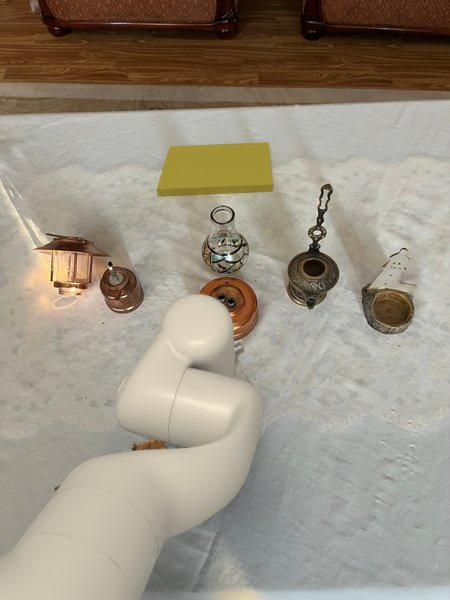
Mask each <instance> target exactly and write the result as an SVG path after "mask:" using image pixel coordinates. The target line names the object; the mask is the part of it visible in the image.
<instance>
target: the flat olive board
mask: <svg viewBox="0 0 450 600" xmlns="http://www.w3.org/2000/svg"><path fill="white" fill-rule="evenodd" d="M272 173H273V172H272V162H271V151H270V142H269V141H266V142H265V141H263V142H261V141H260V142H240V143H238V142H237V143H236V142H235V143H218V144H217V143H216V144H215V143H213V144H193V145H191V144H190V145H171V146H170V145H169V147H168V151H167V154H166V157H165V160H164V164H163V167H162V170H161V174H160V177H159V181H158V183H157V187H156V192H157V197H178V196H199V195H224V194H226V195H227V194H247V193H248V194H249V193H271V192H273V189H274V188H273V187H274V184H273V183H274V182H273V174H272Z"/></svg>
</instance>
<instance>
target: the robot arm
mask: <svg viewBox="0 0 450 600" xmlns="http://www.w3.org/2000/svg"><path fill="white" fill-rule="evenodd" d="M234 330H235V329H234V322H233V317H232V315H231V313H230V311H229V309H228V308H227V307H226V305H225V304H224V303H222V302H221V301H220V300H219V299H217V298H215V297H214V296H211V295H207V294H204V293H203V294H202V293H194V294H193V293H192V294H188V295H184V296H182V297H180V298H178V299H176V300H175V301H173V302H172V303H171V304H170V305H169V306H168V308H167V309H166V310H165V311H164V314H163V316H162V318H161V321H160V328H159V329H158V331H157V332H156V335H155V336H154V338H152V341H151V342H150V344H149V345H148V347H147V348H146V349H145V350H144V352H143V354H142V355H141V356H140V358H139V360H138V361H137V363H136V364H135V365H134V367H133V368H132V370H131V371H130V372H129V373H128V374H127V375H126V376H125V377H124V378H123V380H122V381H121V382H120V385H119V387H118V389H117V391H116V394H115V398H114V418H115V421H116V422H117V424H118V426H119V427H120V428H121V429H122V430H124V431H126V432H129V433H131V434H135V435H137V436H141V437H146V438H149V439H156V440H160V441H163V442H164V443H169V444H172V445H176V446H180V447H181V448H166V449H153V450H137V451H132V450H127V451H120V452H114V453H106V454H103V455H98V456H94V457H92V458H89V459H87V460H85V461H83V462H81V463H80V464H78V465H77V466H75V467H74V468H73V469H72V470H71V471H70V472H69V473H68V474H67V476H66V477H65V478H64V480H63V481H62V483H61V484H59V485H60V487H59V488H58V489H57V491H56V492H55V491H54V494H53V495H52V496H51V497H50V499H49V500H48V501H47V502H46V504H45V506H44V507H43V508H42V509H41V511H40V512H39V514H37V516H36V517H35V518H34V520H33V521H32V523H31V524H30V525H29V527H28V528H27V529H26V531H25V532H24V533H23V535H22V536H21V537H20V538H19V540H18V541H17V542H16V544H15V545H13V547H12V549H11V550H9V552H6V553H3V554H0V600H141V599H142V596H143V594H144V592H145V589H146V587H147V585H148V582H149V580H150V577H151V575H152V573H153V571H154V568H155V567H156V564H157V562H158V559H159V556H160V554H161V552H162V550H163V546H164V544H165V542H166V540H167V539H170V538H172V537H175V536H178V535H180V534H183V533H184V532H185V533H186V532H187V531H189V530H191V529H193V528H195V527H196V526H199V525H200V524H202V523H204V522H205V521H207V520H208V519H210V518H212V517H213V516H214V515H216V514H218V512H220V511H221V510H223V509H224V508H225V507H226V506H227V505H229V504H230V503H231V501H232V500H233V499H234V498H235V497H236V496H237V495H238V493H239V492H240V490H241V488H242V487H243V486H244V484H245V482H246V480H247V478H248V476H249V474H250V470H251V468H252V464H253V460H254V458H255V453H256V450H257V447H258V443H259V441H260V440H259V439H260V436H261V432H262V428H263V423H264V413H265V405H264V399H263V396H262V394H261V392H260V391H259V389H258V388H257V387H255V385H253V384H252V381H251V380H250V377H249V376H248V375H247V374H246V373H245V372H244V369H243V367H242V364H241V362H240V359H239V358H238V357H240V355H241V354H243V353H245V348H244V346H243V345H242V343H241V342H237V343H235V331H234Z"/></svg>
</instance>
